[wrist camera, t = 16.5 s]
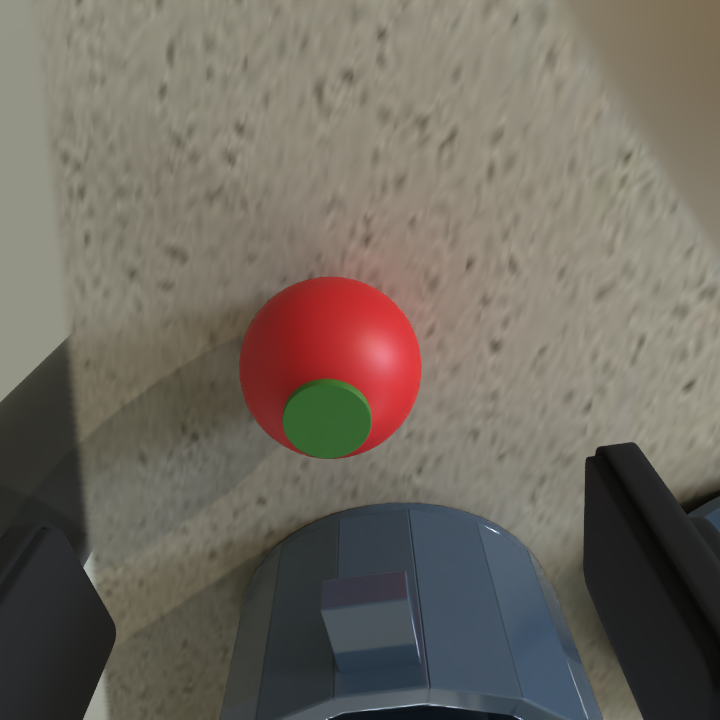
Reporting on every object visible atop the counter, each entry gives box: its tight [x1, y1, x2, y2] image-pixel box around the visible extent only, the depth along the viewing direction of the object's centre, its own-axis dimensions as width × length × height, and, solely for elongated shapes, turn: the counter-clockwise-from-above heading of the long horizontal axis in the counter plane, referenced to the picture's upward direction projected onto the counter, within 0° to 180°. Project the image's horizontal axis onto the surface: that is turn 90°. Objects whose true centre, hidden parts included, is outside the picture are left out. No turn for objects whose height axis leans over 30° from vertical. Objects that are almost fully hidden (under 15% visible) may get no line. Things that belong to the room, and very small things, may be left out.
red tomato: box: [239, 277, 421, 459], centre depth 16 cm, size 5×5×5 cm
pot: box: [220, 503, 603, 720], centre depth 22 cm, size 14×19×8 cm
